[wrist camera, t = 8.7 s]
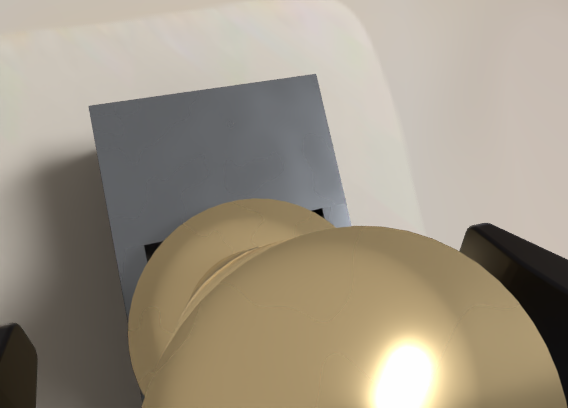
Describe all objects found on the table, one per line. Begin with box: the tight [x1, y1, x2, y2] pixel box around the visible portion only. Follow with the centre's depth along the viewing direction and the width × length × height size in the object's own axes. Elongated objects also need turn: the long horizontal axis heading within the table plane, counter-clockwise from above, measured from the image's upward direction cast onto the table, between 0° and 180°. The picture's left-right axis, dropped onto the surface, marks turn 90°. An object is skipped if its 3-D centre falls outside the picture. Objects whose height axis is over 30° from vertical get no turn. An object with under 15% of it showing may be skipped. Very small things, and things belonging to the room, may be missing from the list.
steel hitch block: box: [89, 74, 351, 403], centre depth 14 cm, size 15×7×4 cm, turn 13°
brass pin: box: [128, 198, 567, 408], centre depth 10 cm, size 7×7×13 cm
